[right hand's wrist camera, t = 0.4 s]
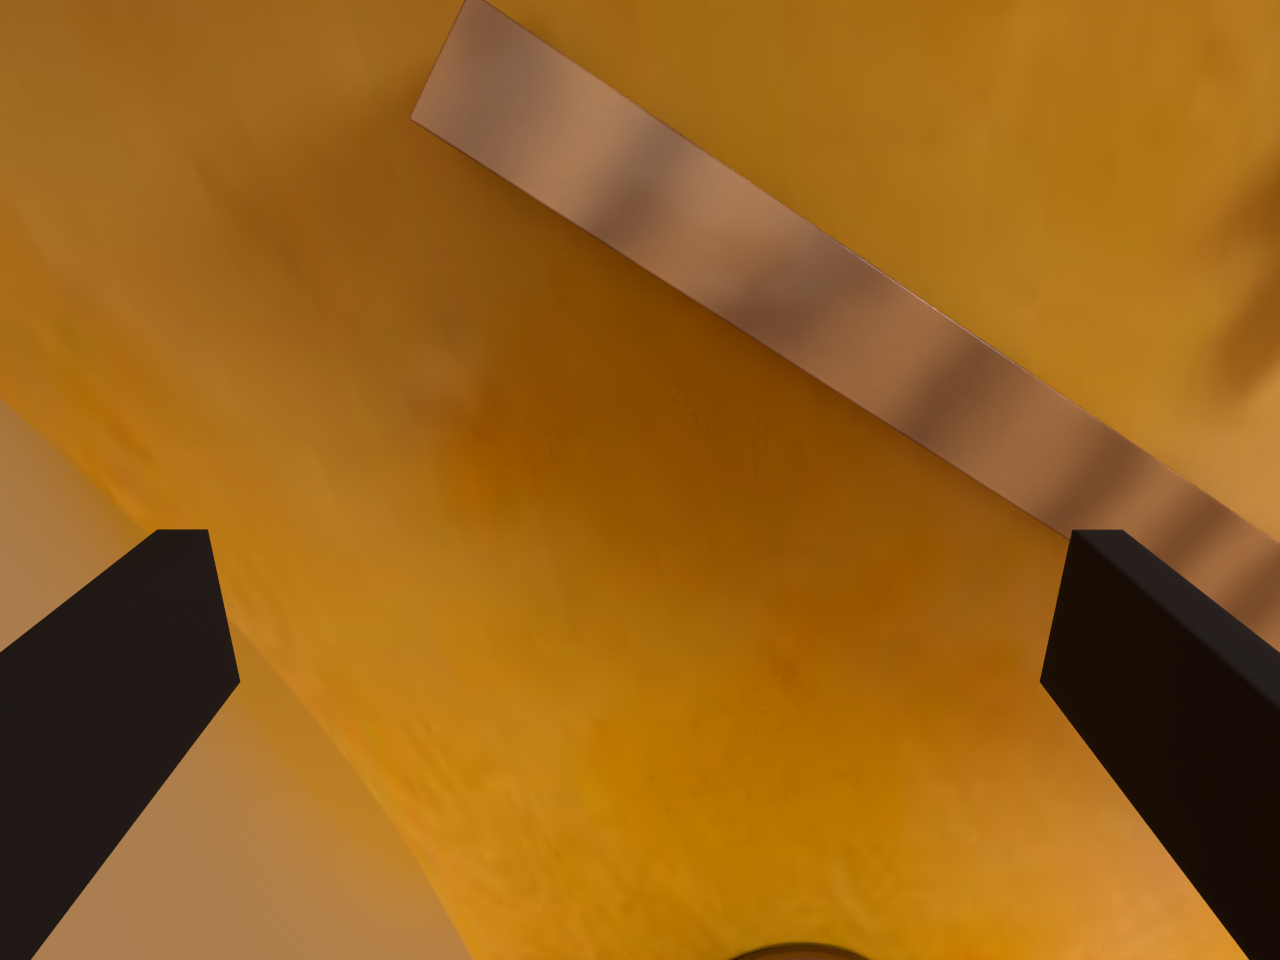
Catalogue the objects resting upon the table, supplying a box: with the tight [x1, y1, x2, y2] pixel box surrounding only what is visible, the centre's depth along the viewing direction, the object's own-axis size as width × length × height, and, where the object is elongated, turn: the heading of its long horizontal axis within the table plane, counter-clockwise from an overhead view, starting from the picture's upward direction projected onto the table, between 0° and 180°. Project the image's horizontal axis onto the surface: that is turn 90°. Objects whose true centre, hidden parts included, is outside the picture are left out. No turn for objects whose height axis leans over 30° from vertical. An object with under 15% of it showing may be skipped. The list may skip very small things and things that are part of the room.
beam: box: [409, 0, 1280, 652], centre depth 39 cm, size 79×4×9 cm, turn 58°
